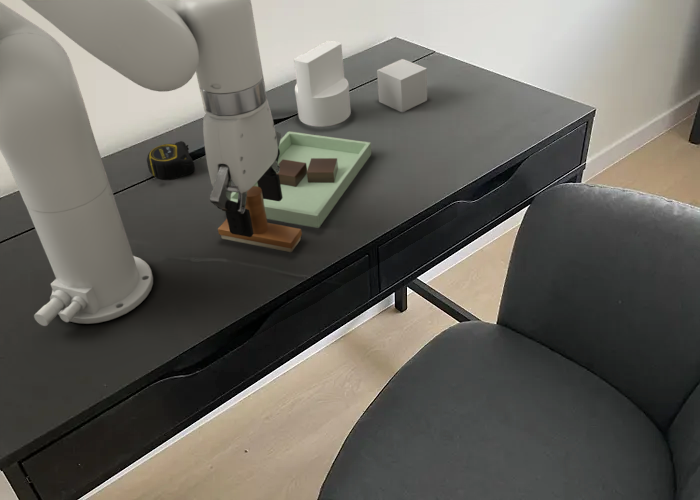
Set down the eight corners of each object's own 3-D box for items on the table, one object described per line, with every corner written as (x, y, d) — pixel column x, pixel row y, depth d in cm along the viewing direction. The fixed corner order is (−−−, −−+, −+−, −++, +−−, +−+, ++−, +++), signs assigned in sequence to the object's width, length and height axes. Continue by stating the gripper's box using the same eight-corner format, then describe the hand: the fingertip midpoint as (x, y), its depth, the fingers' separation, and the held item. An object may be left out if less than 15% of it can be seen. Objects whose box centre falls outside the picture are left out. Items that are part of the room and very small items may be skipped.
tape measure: (197, 178, 116) (192, 157, 113) (153, 188, 114) (147, 167, 112) (191, 157, 121) (186, 137, 119) (148, 167, 120) (143, 146, 117)
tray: (319, 232, 102) (317, 215, 100) (229, 215, 107) (225, 199, 105) (371, 158, 116) (370, 142, 115) (290, 146, 121) (288, 131, 120)
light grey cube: (378, 102, 131) (376, 70, 128) (403, 90, 134) (402, 58, 131) (402, 112, 128) (400, 80, 124) (427, 100, 130) (426, 68, 127)
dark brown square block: (296, 187, 110) (294, 176, 109) (272, 183, 112) (270, 172, 110) (307, 172, 113) (306, 162, 112) (284, 169, 114) (282, 159, 113)
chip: (334, 182, 110) (333, 172, 109) (307, 182, 111) (306, 172, 110) (338, 168, 113) (337, 158, 112) (312, 168, 114) (311, 158, 113)
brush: (293, 257, 98) (284, 204, 93) (220, 242, 102) (209, 191, 97) (303, 243, 100) (295, 191, 95) (232, 229, 104) (221, 178, 99)
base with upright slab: (328, 135, 123) (321, 67, 116) (288, 122, 128) (278, 56, 121) (361, 113, 128) (356, 46, 121) (321, 101, 133) (314, 36, 126)
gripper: (241, 60, 95) (262, 177, 106) (166, 125, 83) (198, 250, 94) (294, 65, 93) (310, 185, 103) (224, 133, 80) (251, 261, 91)
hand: (257, 215), depth 98 cm, fingers open, 7 cm apart
